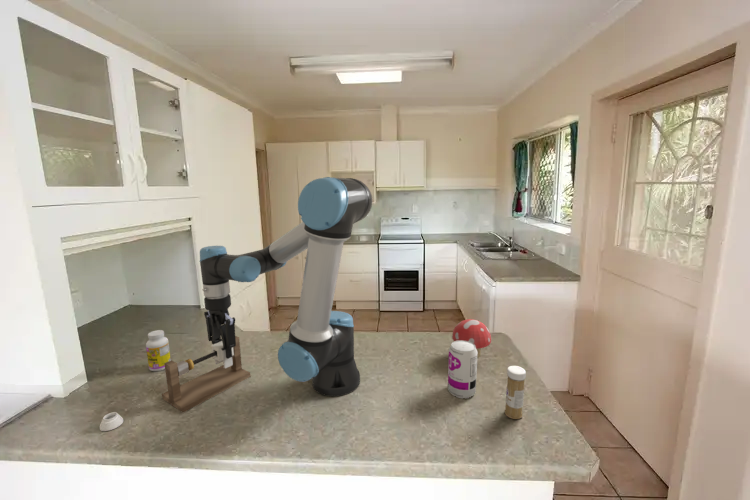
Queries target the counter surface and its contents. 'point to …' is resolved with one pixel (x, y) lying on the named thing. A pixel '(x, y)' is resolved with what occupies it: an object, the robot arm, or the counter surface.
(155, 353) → the supplement bottle
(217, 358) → the sleeve
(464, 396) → the supplement can
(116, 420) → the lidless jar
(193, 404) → the brown stand with rod
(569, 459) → the counter surface
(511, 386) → the sprinkles bottle
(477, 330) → the decorative mushroom
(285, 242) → the robot arm
